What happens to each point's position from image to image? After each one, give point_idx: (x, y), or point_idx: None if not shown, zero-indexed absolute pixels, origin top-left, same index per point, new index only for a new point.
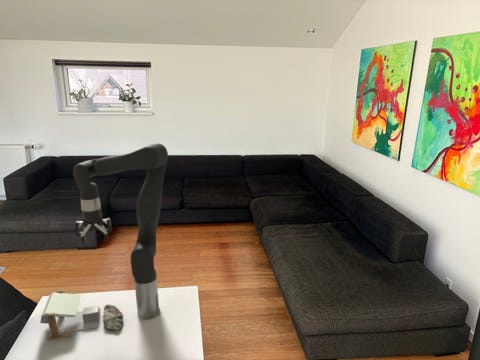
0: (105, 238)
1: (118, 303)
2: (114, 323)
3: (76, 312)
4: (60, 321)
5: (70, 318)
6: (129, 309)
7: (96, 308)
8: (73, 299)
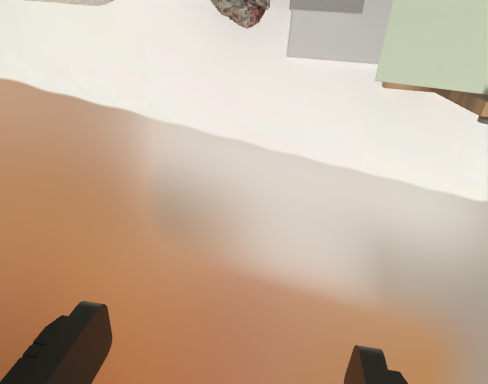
0: (59, 340)
1: (215, 73)
2: None
3: None
4: None
5: None
6: (169, 9)
7: None
8: (422, 28)
